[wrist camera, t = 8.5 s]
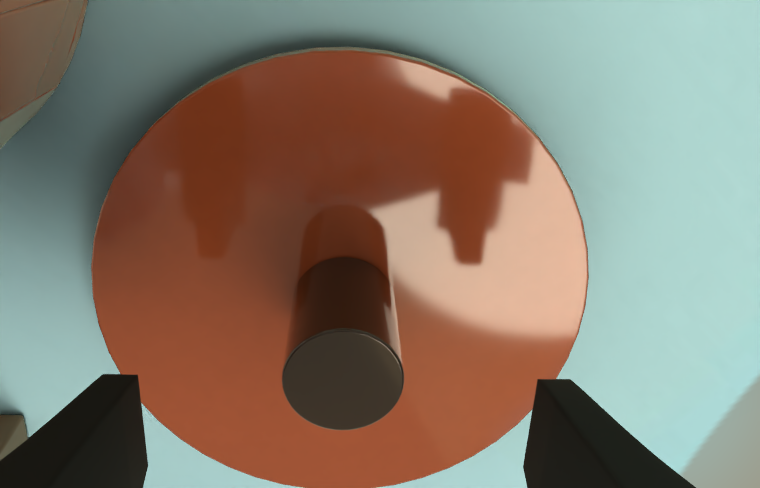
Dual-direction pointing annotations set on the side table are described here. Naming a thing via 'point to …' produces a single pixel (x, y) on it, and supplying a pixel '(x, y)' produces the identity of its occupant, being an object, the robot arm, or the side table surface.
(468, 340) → the lid
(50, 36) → the cup
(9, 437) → the block
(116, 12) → the side table surface
